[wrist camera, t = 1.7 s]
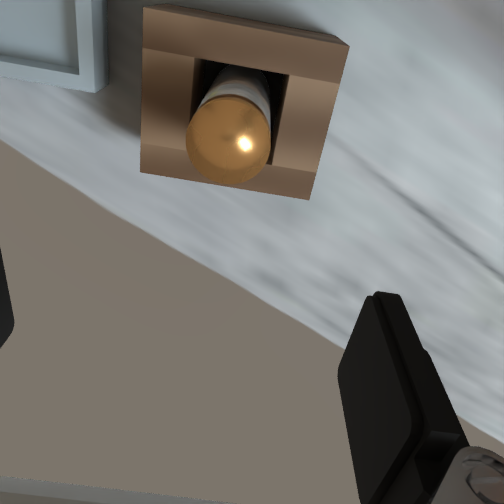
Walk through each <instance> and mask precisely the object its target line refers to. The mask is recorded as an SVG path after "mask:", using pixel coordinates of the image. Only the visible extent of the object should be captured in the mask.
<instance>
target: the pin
mask: <svg viewBox="0 0 504 504" xmlns="http://www.w3.org/2000/svg"><path fill="white" fill-rule="evenodd" d="M270 147H271V139H270V89H269V84H268V82H267V79H266V78H265V76H264V75H263V73H262V72H261V71H260V70H259V69H255V68H249V67H244V66H239V65H233V64H231V65H229V66H227V67H225V68H224V69H222V70H221V71H220V72H219V74H218V75H217V77H216V78H215V80H214V82H213V83H212V85H211V87H210V88H209V90H208V92H207V94H206V95H205V97H204V99H203V101H202V102H201V104H200V106H199V107H198V109H197V111H196V113H195V114H194V116H193V118H192V119H191V121H190V123H189V125H188V128H187V132H186V150H187V153H188V156H189V159H190V160H191V162H192V164H193V165H194V167H195V168H196V169H197V170H198V171H199V172H200V173H201V174H202V175H203V176H205V177H206V178H208V179H210V180H212V181H215V182H217V183H222V184H238V183H242V182H245V181H247V180H249V179H251V178H253V177H254V176H255V175H257V174H258V173H259V172H260V171H261V170H262V168H263V167H264V165H265V164H266V162H267V160H268V157H269V153H270Z"/></svg>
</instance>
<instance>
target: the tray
mask: <svg viewBox="0 0 504 504" xmlns="http://www.w3.org/2000/svg"><path fill="white" fill-rule="evenodd" d="M0 76H1V77H6V78H12V79H18V80H23V81H29V82H35V83H41V84H46V85H52V86H58V87H63V88H69V89H75V90H80V91H86V92H92V93H96V92H97V91H99V90H101V89H102V88H104V87H106V86H107V85H109V70H108V25H107V0H0Z"/></svg>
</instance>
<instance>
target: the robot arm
mask: <svg viewBox="0 0 504 504" xmlns="http://www.w3.org/2000/svg"><path fill="white" fill-rule="evenodd" d="M13 327H14V316H13V311H12V306H11V301H10V295H9V291H8V286H7V280H6V275H5V270H4V265H3V260H2V254H1V249H0V348H1V347H2V345H3V344H4V343H5V341H6V340H7V339H8V337H9V336H10V334H11V333H12V331H13ZM338 383H339V388H340V394H341V400H342V405H343V411H344V417H345V422H346V428H347V432H348V438H349V444H350V449H351V455H352V461H353V466H354V472H355V477H356V483H357V488H358V494H359V499H360V503H361V504H504V458H503V457H502V456H500V455H498V454H496V453H495V452H493V451H491V450H488V449H485V448H482V447H477V446H470V445H469V443H468V441H467V438H466V436H465V434H464V431H463V429H462V427H461V425H460V423H459V420H458V418H457V416H456V413H455V411H454V409H453V407H452V404H451V402H450V400H449V398H448V395H447V393H446V391H445V389H444V386H443V384H442V382H441V380H440V377H439V375H438V373H437V371H436V368H435V366H434V364H433V362H432V359H431V357H430V355H429V354H428V352H427V351H426V350H425V349H423V347H422V344H421V342H420V340H419V338H418V335H417V333H416V331H415V328H414V326H413V324H412V321H411V319H410V317H409V314H408V312H407V310H406V308H405V305H404V303H403V301H402V298H401V297H400V295H398V294H393V293H387V292H380V291H377V292H375V293H374V295H373V296H367V297H366V299H365V301H364V304H363V306H362V309H361V312H360V314H359V317H358V319H357V322H356V324H355V327H354V329H353V332H352V334H351V337H350V339H349V342H348V344H347V347H346V349H345V352H344V354H343V357H342V359H341V362H340V364H339V367H338ZM0 504H235V503H227V502H218V501H210V500H202V499H194V498H186V497H177V496H169V495H160V494H152V493H143V492H135V491H126V490H118V489H109V488H100V487H92V486H84V485H74V484H66V483H57V482H49V481H41V480H32V479H23V478H14V477H5V476H0Z"/></svg>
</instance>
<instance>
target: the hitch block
mask: <svg viewBox="0 0 504 504" xmlns="http://www.w3.org/2000/svg"><path fill="white" fill-rule="evenodd" d="M349 47H350V46H349V45H347V44H346V43H345V42H343V41H342V40H340V39H339V38H338V37H336V36H333V35H328V34H323V33H317V32H312V31H307V30H302V29H296V28H291V27H286V26H280V25H275V24H270V23H265V22H259V21H254V20H249V19H244V18H238V17H233V16H228V15H223V14H217V13H212V12H207V11H202V10H196V9H191V8H186V7H181V6H175V5H170V4H160V5H154V6H148V7H143V43H142V97H141V151H140V172H142V173H148V174H154V175H160V176H166V177H172V178H178V179H184V180H190V181H196V182H202V183H208V184H215V185H221V186H227V187H233V188H239V189H245V190H251V191H257V192H263V193H269V194H275V195H281V196H287V197H293V198H299V199H305V200H309V199H310V195H311V191H312V188H313V184H314V180H315V176H316V172H317V169H318V165H319V161H320V157H321V153H322V150H323V146H324V142H325V138H326V134H327V131H328V127H329V123H330V119H331V115H332V112H333V108H334V104H335V100H336V97H337V93H338V89H339V85H340V81H341V78H342V74H343V70H344V66H345V62H346V59H347V55H348V51H349ZM206 60H211V61H217V62H222V63H228V64H233V65H239V66H244V67H249V68H255V69H260V70H266V71H271V72H277V73H282V74H284V75H283V80H282V85H281V90H280V96H279V101H278V106H277V111H276V117H275V122H274V127H273V132H272V137H271V138H270V139H271V147H270V153H269V157H268V160H267V162H266V164H265V165H264V167H263V168H262V170H261V171H260V172H259V173H258V174H257V175H255V176H254V177H253V178H251V179H249V180H247V181H245V182H242V183H238V184H222V183H217V182H215V181H212V180H210V179H208V178H206V177H205V176H203V175H202V174H201V173H200V172H199V171H198V170H197V169H196V168H195V167H194V165H193V164H192V162H191V160H190V159H189V156H188V153H187V150H186V132H187V128H188V125H189V123H190V121H191V119H192V118H193V116H194V114H195V113H196V111H197V109H198V107H199V106H200V104H201V102H202V94H203V83H204V73H205V62H206Z"/></svg>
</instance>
